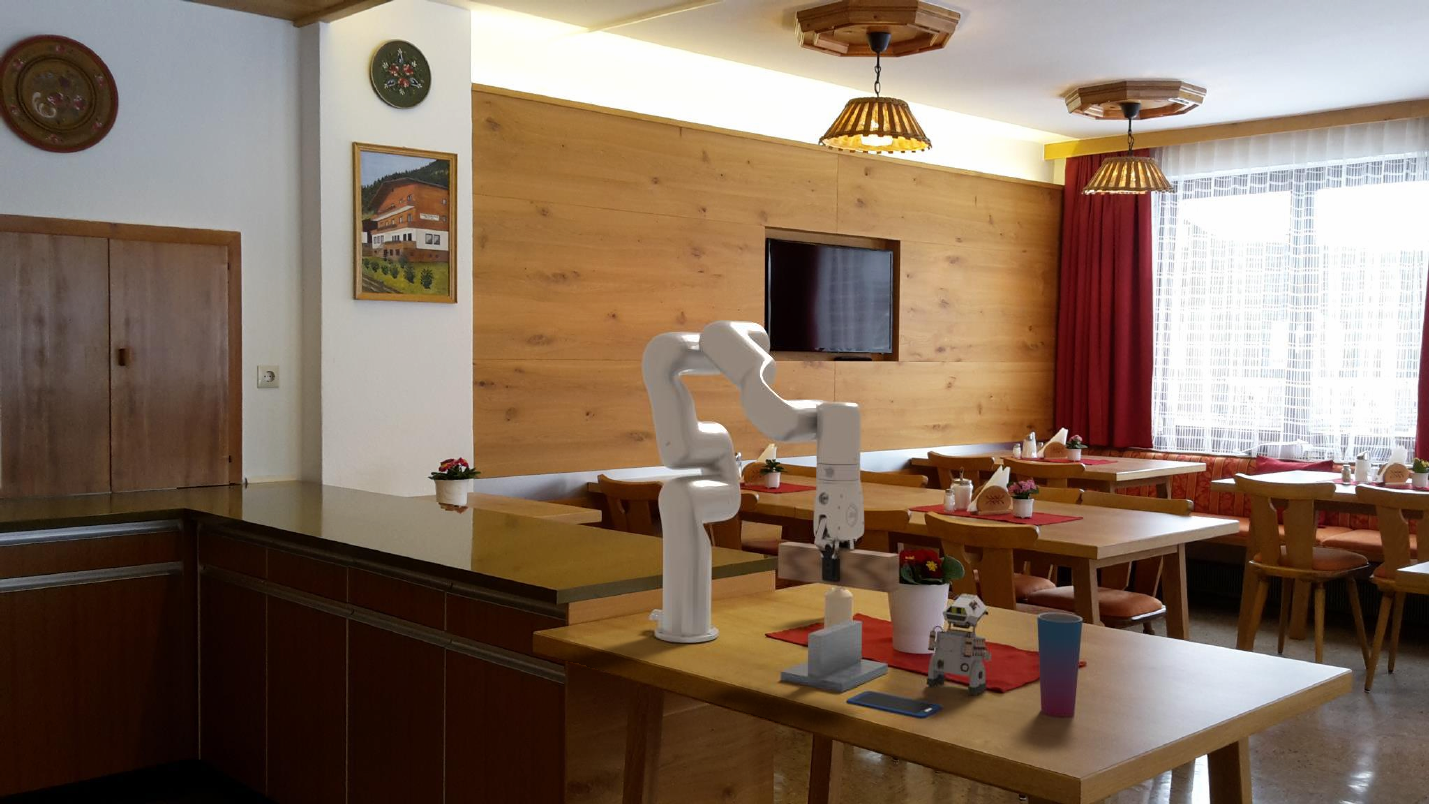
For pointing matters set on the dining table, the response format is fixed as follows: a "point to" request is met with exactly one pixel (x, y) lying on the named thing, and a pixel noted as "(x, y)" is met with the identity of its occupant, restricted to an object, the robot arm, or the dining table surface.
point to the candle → (838, 606)
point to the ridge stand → (835, 660)
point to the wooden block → (854, 567)
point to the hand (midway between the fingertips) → (837, 578)
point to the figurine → (960, 645)
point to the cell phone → (895, 704)
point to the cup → (1058, 662)
